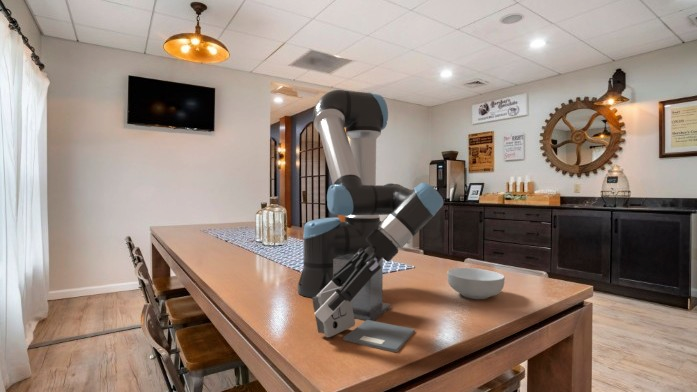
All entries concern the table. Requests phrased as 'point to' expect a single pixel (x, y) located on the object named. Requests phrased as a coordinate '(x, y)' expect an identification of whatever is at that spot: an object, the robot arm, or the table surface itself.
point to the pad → (380, 335)
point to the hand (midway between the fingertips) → (317, 310)
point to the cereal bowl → (475, 282)
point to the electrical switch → (334, 315)
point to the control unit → (366, 293)
